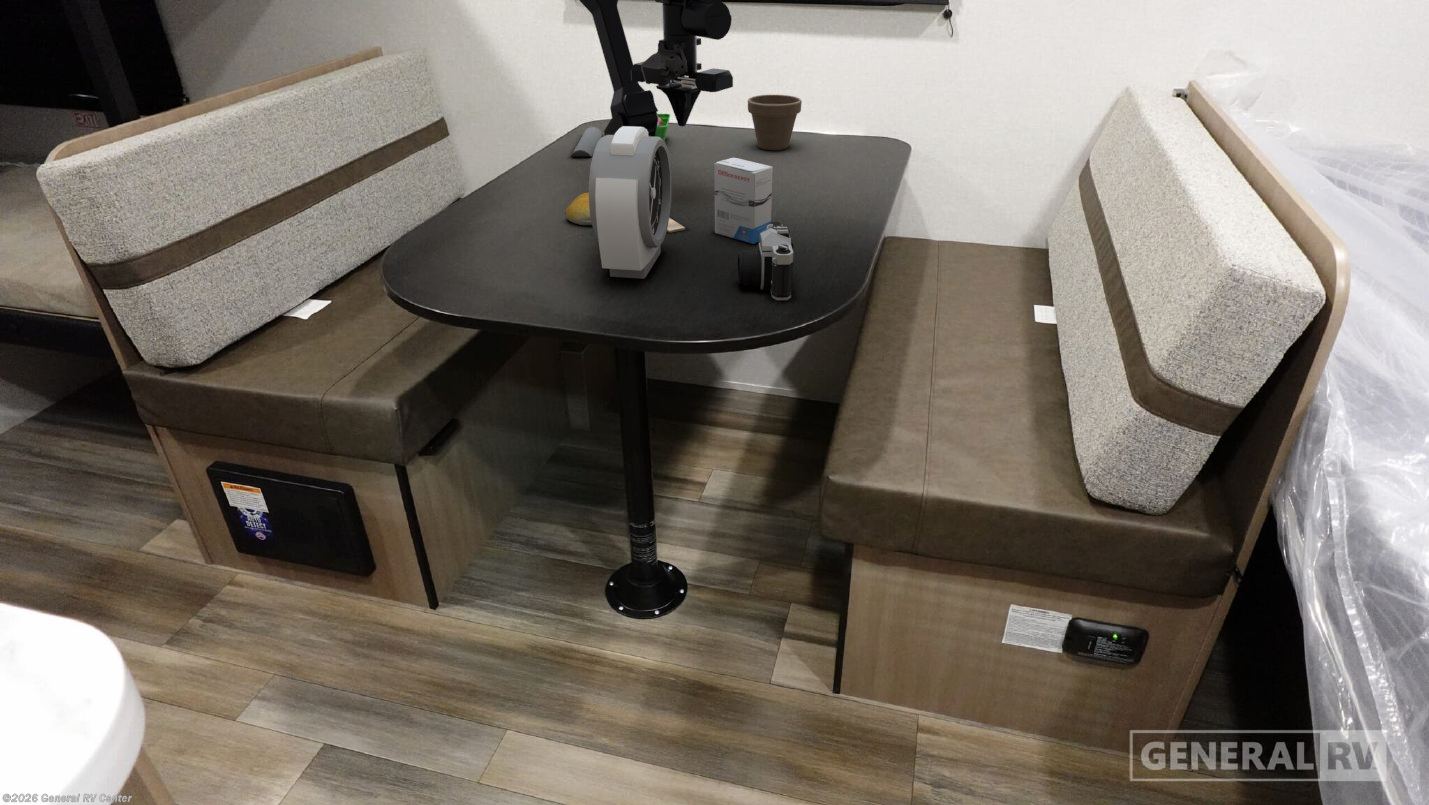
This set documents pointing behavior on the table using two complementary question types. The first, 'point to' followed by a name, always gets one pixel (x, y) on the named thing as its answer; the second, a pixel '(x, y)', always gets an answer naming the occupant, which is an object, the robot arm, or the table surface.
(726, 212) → the ink box
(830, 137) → the table surface
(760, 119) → the flower pot
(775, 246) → the camera
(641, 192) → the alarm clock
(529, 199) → the table surface
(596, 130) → the half round rod
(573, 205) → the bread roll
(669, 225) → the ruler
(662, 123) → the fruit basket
